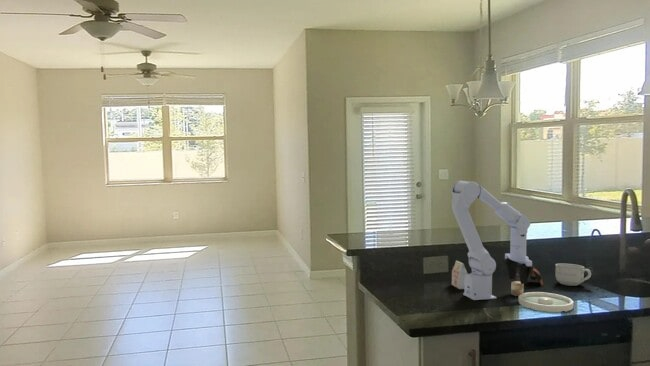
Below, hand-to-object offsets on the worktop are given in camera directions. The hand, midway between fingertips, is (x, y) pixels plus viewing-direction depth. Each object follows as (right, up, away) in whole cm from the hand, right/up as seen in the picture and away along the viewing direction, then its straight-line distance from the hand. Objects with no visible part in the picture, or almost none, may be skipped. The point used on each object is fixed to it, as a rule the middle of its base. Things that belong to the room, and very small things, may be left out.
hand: (517, 281), depth 198 cm
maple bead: (0, -5, 0) cm, 5 cm away
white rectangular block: (-19, -5, +12) cm, 23 cm away
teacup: (+27, -5, +14) cm, 31 cm away
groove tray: (+5, -6, -13) cm, 15 cm away
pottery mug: (+11, -4, +17) cm, 21 cm away
